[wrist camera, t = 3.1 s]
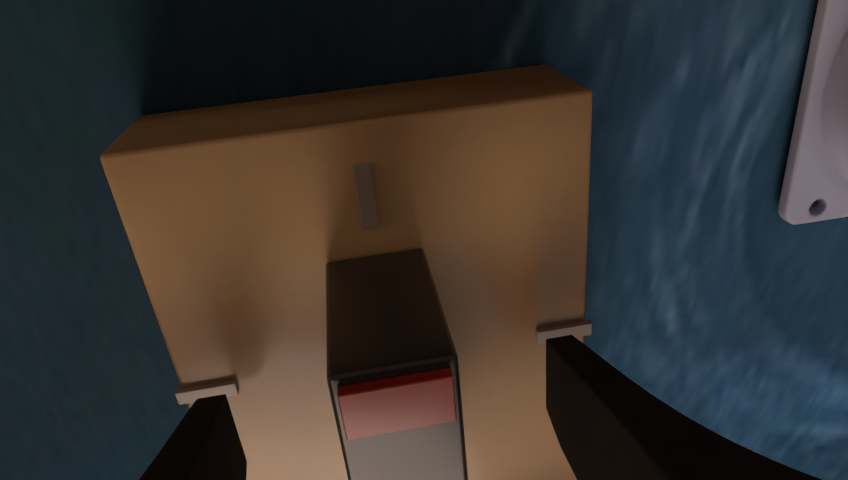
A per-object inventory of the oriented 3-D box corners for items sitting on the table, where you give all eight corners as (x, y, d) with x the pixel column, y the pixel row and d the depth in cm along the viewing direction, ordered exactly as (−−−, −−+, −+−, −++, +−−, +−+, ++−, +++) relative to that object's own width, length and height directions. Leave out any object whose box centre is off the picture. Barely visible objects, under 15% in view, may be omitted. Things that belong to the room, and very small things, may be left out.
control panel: (549, 419, 21) (584, 494, 18) (248, 473, 20) (236, 562, 17) (550, 62, 15) (602, 91, 12) (134, 115, 14) (88, 159, 12)
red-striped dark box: (443, 441, 16) (479, 592, 13) (362, 456, 16) (374, 614, 12) (423, 245, 14) (461, 364, 10) (324, 260, 13) (325, 387, 10)
